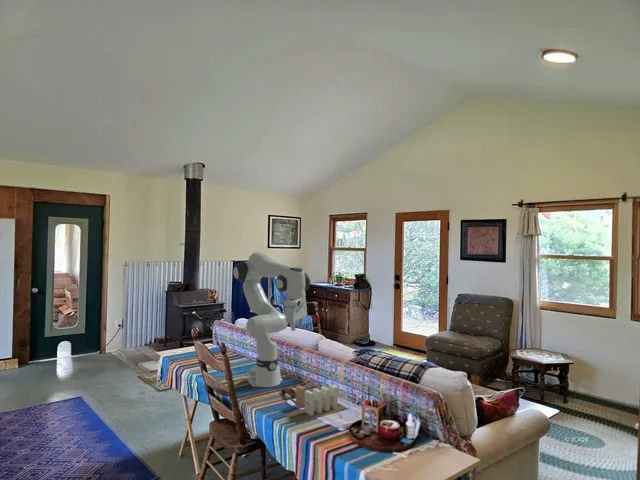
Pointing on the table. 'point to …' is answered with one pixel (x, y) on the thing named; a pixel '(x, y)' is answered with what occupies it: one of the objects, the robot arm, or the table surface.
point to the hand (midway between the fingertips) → (296, 328)
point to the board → (302, 416)
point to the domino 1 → (300, 396)
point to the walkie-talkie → (289, 393)
